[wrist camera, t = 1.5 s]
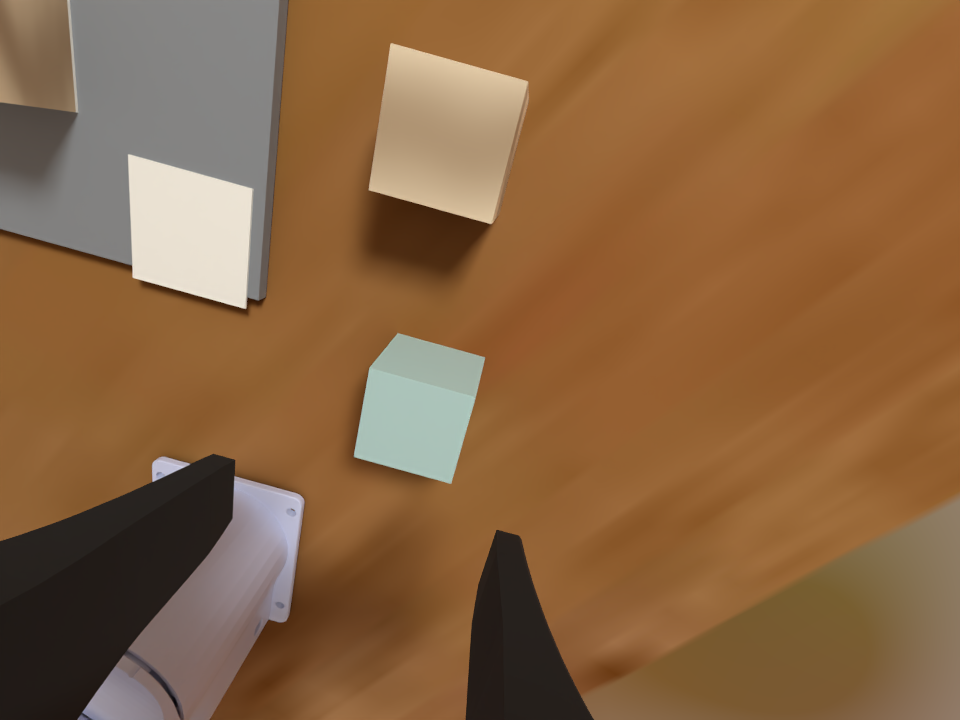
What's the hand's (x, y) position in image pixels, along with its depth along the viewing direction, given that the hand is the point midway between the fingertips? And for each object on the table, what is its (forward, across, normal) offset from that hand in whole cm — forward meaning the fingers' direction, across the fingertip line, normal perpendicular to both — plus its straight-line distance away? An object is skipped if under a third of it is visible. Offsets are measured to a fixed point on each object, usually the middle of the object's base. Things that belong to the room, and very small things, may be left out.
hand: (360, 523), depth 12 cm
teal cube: (+10, 0, 0) cm, 10 cm away
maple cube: (+10, +1, -10) cm, 14 cm away
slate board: (+9, +15, -8) cm, 19 cm away
